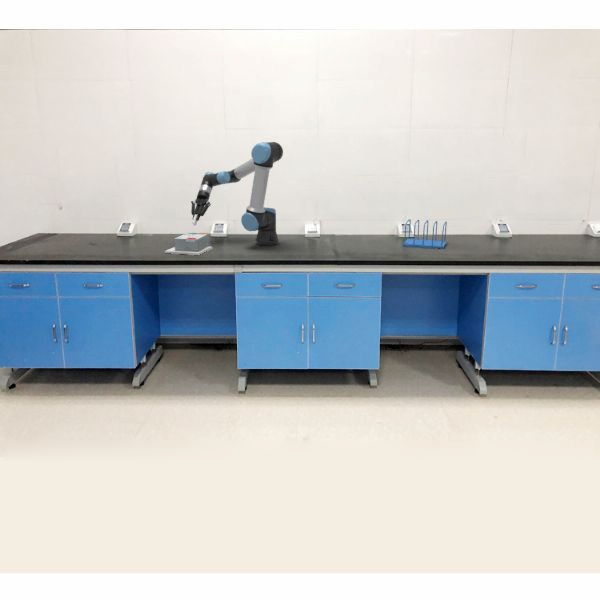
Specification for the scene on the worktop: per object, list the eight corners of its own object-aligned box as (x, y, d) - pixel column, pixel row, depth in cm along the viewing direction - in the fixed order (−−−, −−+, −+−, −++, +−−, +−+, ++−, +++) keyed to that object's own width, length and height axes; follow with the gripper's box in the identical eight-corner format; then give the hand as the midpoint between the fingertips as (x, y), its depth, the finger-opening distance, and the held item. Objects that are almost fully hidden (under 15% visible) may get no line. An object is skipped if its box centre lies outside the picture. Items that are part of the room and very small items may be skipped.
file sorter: (402, 246, 370) (403, 222, 366) (407, 241, 386) (408, 218, 381) (443, 249, 362) (444, 224, 358) (446, 244, 378) (448, 220, 373)
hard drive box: (210, 232, 366) (198, 239, 347) (211, 245, 368) (199, 251, 349) (186, 232, 369) (173, 238, 350) (187, 244, 371) (174, 251, 352)
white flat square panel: (212, 248, 364) (212, 246, 364) (198, 255, 346) (198, 253, 345) (180, 246, 370) (180, 244, 370) (164, 253, 352) (164, 251, 351)
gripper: (215, 197, 373) (205, 228, 363) (196, 197, 377) (186, 227, 366) (211, 190, 367) (201, 221, 356) (192, 189, 370) (182, 220, 360)
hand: (193, 224), depth 361 cm, fingers closed
